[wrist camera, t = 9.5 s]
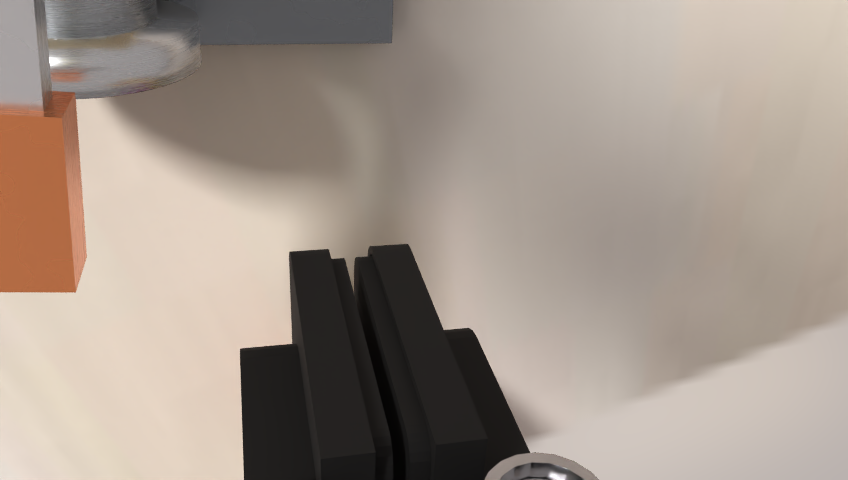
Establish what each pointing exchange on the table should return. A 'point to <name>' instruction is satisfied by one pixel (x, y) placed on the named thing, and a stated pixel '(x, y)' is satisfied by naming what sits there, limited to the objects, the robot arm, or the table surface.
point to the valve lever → (37, 162)
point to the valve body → (187, 36)
